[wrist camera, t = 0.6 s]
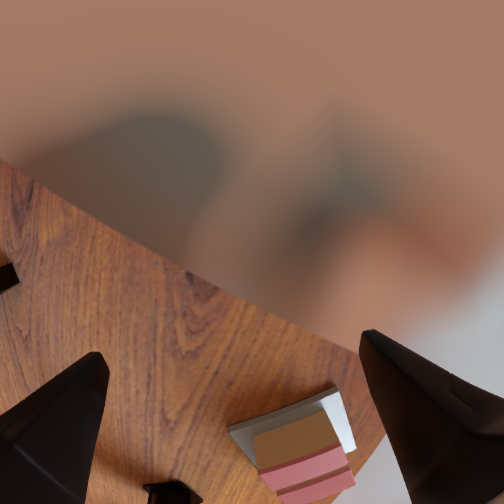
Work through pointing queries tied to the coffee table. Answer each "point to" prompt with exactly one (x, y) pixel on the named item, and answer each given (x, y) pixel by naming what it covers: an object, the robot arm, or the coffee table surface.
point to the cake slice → (298, 451)
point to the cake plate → (327, 400)
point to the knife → (7, 278)
